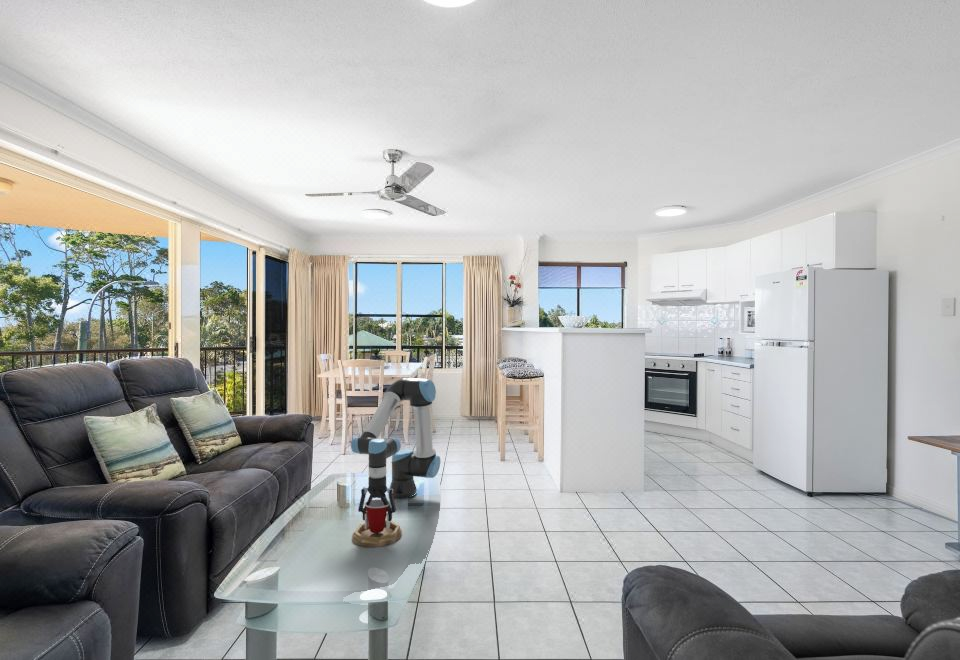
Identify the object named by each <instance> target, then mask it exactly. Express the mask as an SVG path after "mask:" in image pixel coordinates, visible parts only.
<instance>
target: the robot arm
mask: <svg viewBox="0 0 960 660" xmlns="http://www.w3.org/2000/svg"><path fill="white" fill-rule="evenodd" d="M436 394H437V391H436V385H435V383H434V381H432V380H431V379H429V378H424V377H423V378H413V377H409V378H408V377H403V378H400V379H398V380H396V381H394V382H393V383H392V384H391V385H389V387H388V388H387V389H386V390H385V391H384V393H383V396H382V397H383V399H382V400H381V403H380V404H378V407H377V409H376V410H375V412H374V413H373V416H372V417H371V419H370V421H369V422H368V424H367V425H366V427H365V429H364V430H363V432H362V434H361V435H360V436H355V437H353V438H352V440H351V442H350V449H351V451H352V453H354V454H358V455H368V486H367V487H364V486H363V488H361V489H360V492H361V493H360V494H361V496H360V500H359V504H358V511H357V512H359V513H362V520H363V521H364V523H365V529H367V527H368V516H367V511H366V506H365V502H367V503H366V505H367V506H369V505H370V503H371V501H372V500H374V499H376V498H377V499H380V500H382V501H383V503H384V505H385V506H386V505H388V504H389V502H390V505H389V506H388V507H387V514H386V530H388V529H389V527H390V521H393V520H392V519H393V514H394V513H395V512H396V511H397V506H396V505H397V504H396V502H395V501H396V500H395V499H407V498H406V497H409V498H411V497H410V496H412V495H414V494H415V493H416V492H417V491H418V490H417V485H416V483H415V480H414V479H415V478H414V477H419V478H426V479H434V478H435V477H436V476H437V475H438V473H439V470H440V467H441V457H440V456H439V455H437V454H436V449H434V448H433V437H432V421H431V420H432V419H431V409H430V408H431V405H432V404H433V402H434V401H435V399H436ZM402 401H409V406H410V407H412V408H413V420H414V421H413V422H414V434H415V446H416V450H415V451H414V450H413V449H401V442H400V440H399V439H398V438H397V437H394V436H393V437H389V438H379V437H380V436H381V433H382V432H383V430H384V428H385V426H386V425H387V424H388V421H389V419H390V418H391V416H392V414H393V412H394V411H395V409H396V407H397V406H399V405H400V404H401V402H402ZM390 457H391V482H390V485H389V488H388V487H387V459H389V458H390ZM386 492H387V494H388V498H387V495H386ZM367 493H369V494H370V495H369V497H368V499H367V501H365V500H366V496H367ZM416 494H417V493H416ZM414 496H415V495H414ZM412 497H413V496H412ZM388 499H389V500H388ZM388 501H389V502H388Z"/></svg>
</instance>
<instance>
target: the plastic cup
mask: <svg viewBox="0 0 960 660" xmlns="http://www.w3.org/2000/svg"><path fill="white" fill-rule="evenodd" d="M388 502H389V504H388V505H386V506H385V505H384V503H383V501H382V500H381V499H372V501H371V503H370V505H369V506H367V505H366V503H367V501H364V507H365V506H366V512H367V516H368V523H369V528H370V531H371V532H372V533H379V532H382V531H383V530H384V525H385V520H386V514H387V513H388V512H387V507H388V506H389V505H390V506H391V503H390V500H388Z"/></svg>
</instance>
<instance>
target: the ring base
mask: <svg viewBox="0 0 960 660" xmlns="http://www.w3.org/2000/svg"><path fill="white" fill-rule="evenodd" d="M402 536H403V530H402V528H401V525H399V524H398V523H396V522H395V521H393V520H391V521H390V527H389V529H388V530H386V520H385V525H384V530H383V531H382V532H379V533H372V532H371V531H370V528H369V523H368V527H367V529H365V522H364V523H361V524H359V525H358V526H357V528H356V529H355V530H354V531H353V533H352V535H351V540H352V542H353V544H355V545H356V546H359V547H363V548H381V547H386V546H390V545H393V544H394V543H396V542H398V541H399V540H400V539H401V538H402Z"/></svg>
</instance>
